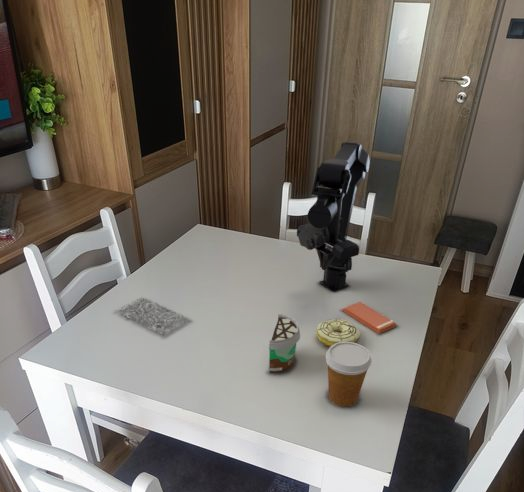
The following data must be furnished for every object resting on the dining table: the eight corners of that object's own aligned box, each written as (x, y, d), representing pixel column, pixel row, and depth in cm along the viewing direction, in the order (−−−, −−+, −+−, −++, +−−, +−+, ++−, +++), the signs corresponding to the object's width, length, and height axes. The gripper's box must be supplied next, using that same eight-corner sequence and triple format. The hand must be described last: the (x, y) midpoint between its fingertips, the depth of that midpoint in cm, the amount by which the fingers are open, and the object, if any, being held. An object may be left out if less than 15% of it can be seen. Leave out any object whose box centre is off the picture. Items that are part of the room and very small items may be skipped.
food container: (294, 380, 111) (296, 345, 106) (268, 377, 112) (269, 341, 107) (301, 349, 121) (304, 315, 116) (277, 346, 122) (278, 312, 117)
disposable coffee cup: (317, 384, 110) (322, 341, 103) (358, 382, 111) (365, 339, 104) (325, 413, 102) (330, 368, 96) (370, 411, 103) (378, 366, 96)
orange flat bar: (342, 311, 137) (343, 306, 136) (359, 304, 140) (359, 300, 139) (379, 334, 127) (379, 329, 126) (395, 326, 130) (396, 322, 130)
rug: (142, 298, 141) (141, 295, 141) (190, 321, 131) (190, 318, 131) (114, 312, 135) (114, 309, 134) (163, 337, 125) (163, 334, 124)
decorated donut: (365, 338, 125) (367, 326, 123) (341, 356, 119) (343, 344, 117) (332, 323, 131) (334, 311, 129) (308, 340, 125) (309, 327, 122)
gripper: (281, 209, 125) (279, 264, 134) (329, 233, 112) (324, 291, 121) (314, 201, 130) (311, 254, 139) (364, 223, 118) (356, 280, 127)
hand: (324, 269), depth 131 cm, fingers closed
